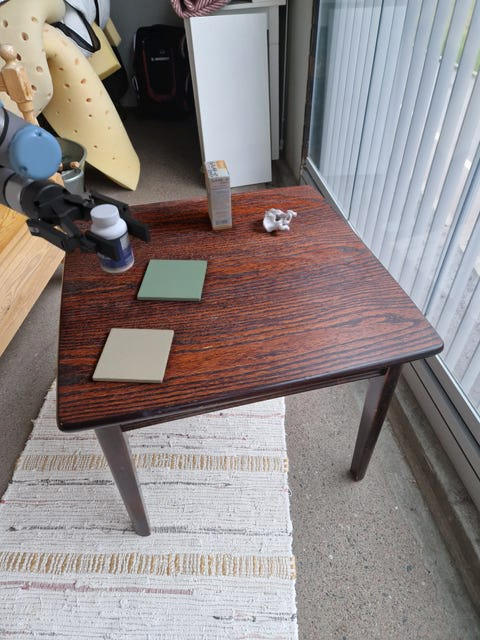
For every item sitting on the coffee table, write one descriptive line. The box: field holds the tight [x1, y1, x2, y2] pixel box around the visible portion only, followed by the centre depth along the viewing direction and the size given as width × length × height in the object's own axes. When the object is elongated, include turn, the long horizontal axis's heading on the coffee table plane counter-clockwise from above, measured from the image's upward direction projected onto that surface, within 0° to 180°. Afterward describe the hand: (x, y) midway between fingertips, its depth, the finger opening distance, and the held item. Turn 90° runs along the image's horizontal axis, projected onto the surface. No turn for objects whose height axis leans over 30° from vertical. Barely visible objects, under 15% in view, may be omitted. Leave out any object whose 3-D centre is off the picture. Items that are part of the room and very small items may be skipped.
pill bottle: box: [90, 204, 135, 274], centre depth 65 cm, size 5×5×10 cm
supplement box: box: [203, 159, 233, 231], centre depth 96 cm, size 8×5×13 cm, turn 11°
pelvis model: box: [262, 207, 298, 233], centre depth 97 cm, size 8×4×7 cm
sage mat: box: [136, 259, 208, 302], centre depth 84 cm, size 12×12×1 cm
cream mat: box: [92, 327, 175, 384], centre depth 70 cm, size 11×11×1 cm
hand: (132, 243), depth 62 cm, fingers closed on pill bottle, 5 cm apart
